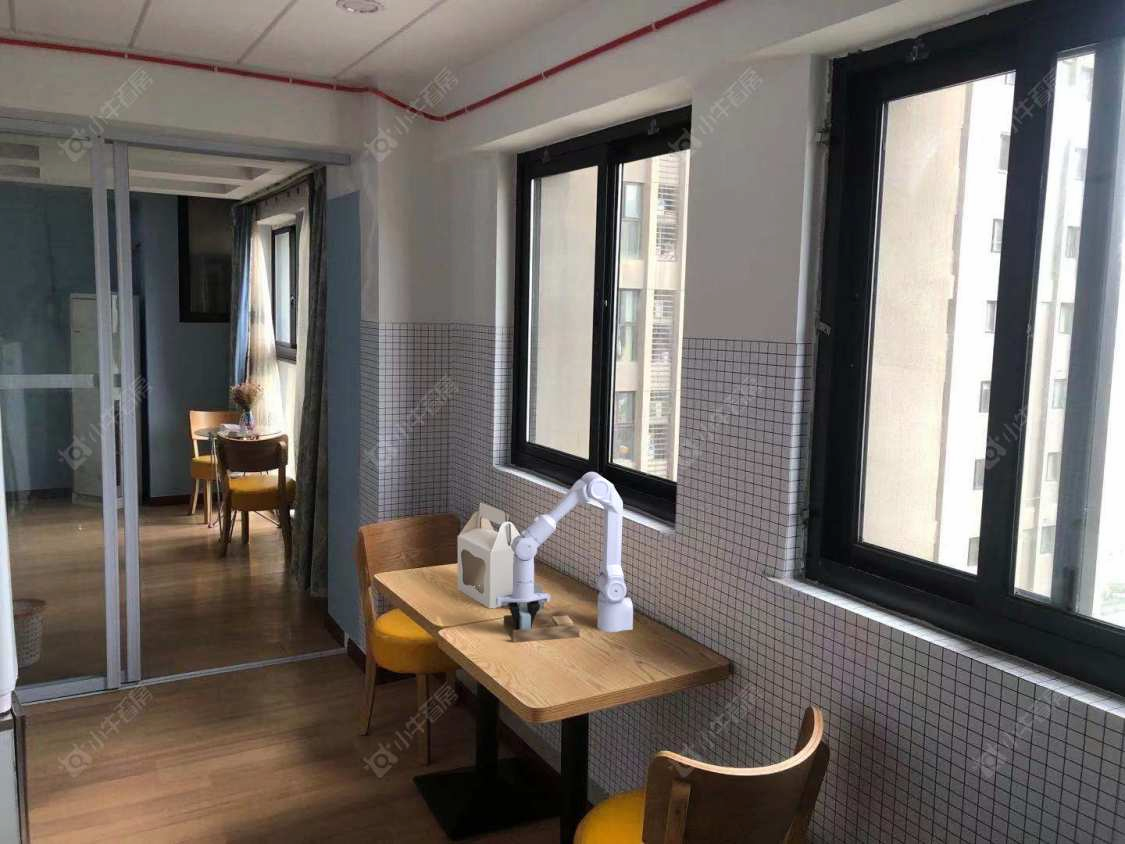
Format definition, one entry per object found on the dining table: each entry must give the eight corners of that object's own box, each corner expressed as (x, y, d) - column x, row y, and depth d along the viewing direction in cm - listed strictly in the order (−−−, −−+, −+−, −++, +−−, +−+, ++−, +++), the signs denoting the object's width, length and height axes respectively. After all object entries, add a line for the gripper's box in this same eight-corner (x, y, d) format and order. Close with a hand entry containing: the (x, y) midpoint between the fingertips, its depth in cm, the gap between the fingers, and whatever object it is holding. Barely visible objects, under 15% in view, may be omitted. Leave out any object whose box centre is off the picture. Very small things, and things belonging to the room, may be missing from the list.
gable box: (529, 602, 275) (530, 511, 271) (490, 609, 268) (490, 516, 264) (494, 583, 293) (494, 498, 290) (456, 589, 286) (457, 502, 283)
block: (523, 627, 251) (524, 606, 250) (530, 637, 243) (530, 615, 242) (515, 628, 250) (515, 607, 249) (521, 638, 242) (522, 616, 242)
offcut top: (567, 620, 252) (567, 615, 252) (573, 628, 246) (573, 622, 246) (552, 621, 251) (552, 616, 251) (557, 629, 245) (557, 623, 245)
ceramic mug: (510, 607, 270) (511, 582, 269) (537, 604, 273) (537, 580, 272) (520, 619, 260) (520, 593, 259) (548, 616, 263) (548, 591, 262)
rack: (566, 623, 256) (566, 610, 256) (579, 640, 244) (579, 626, 244) (503, 628, 252) (503, 615, 251) (513, 645, 239) (513, 631, 239)
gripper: (546, 574, 250) (545, 622, 252) (493, 577, 247) (493, 626, 248) (552, 581, 244) (551, 630, 245) (499, 585, 240) (498, 634, 242)
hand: (522, 628), depth 246 cm, fingers open, 3 cm apart
